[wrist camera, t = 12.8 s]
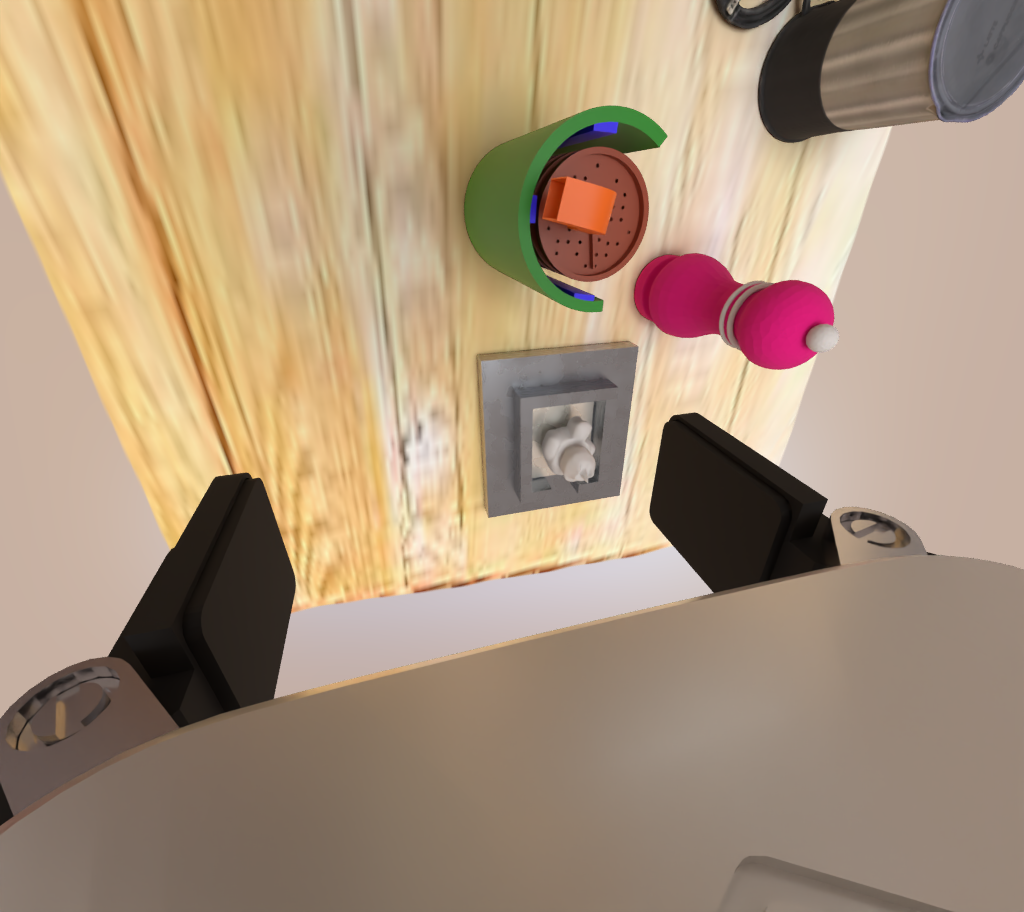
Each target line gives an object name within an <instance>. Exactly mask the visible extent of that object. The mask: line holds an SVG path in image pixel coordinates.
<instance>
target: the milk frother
mask: <svg viewBox="0 0 1024 912" xmlns="http://www.w3.org/2000/svg"><path fill="white" fill-rule="evenodd" d="M716 1H717V6H718V9H719V11H720V13H721V14H722V16H723V17H724V19H725V20H727V22H729V23H731V24H732V25H734V26H737V27H740V28H744V29H750V28H755V27H758V26H759V25H762V24H764V23H766V22H768V21H770V20H771V19H773V18H774V17H775V16H777V15H778V14H779V13H780V12H781V11H782V10H783V9H784V8H785V7H786V6H787V5H788V4H789V3H790V2H791V0H768V1H767V2H765V3H764V4H762V5H760V6H758V7H755V8H750V9H746V8H742V7H741V6H740V5H739V1H740V0H716ZM827 4H828V5H827ZM1023 80H1024V0H840V1H837V2H834V1H829V2H826V3H823V4H821V5H816V6H813V7H810V0H803V5H802V12H800V13H799V14H797V15H796V16H795V17H793V18H792V19H791V20H790V21H789V22H788V23H787V25H786V26H785V27H784V28H783V29H782V31H781V32H780V33H779V35H778V36H777V38H776V40H775V41H774V43H773V45H772V47H771V49H770V51H769V53H768V56H767V58H766V61H765V64H764V66H763V70H762V74H761V80H760V86H759V107H760V112H761V117H762V120H763V122H764V124H765V126H766V127H767V130H768V131H769V132H770V133H771V134H772V135H773V137H775V138H776V139H778V140H781V141H783V142H793V143H794V142H800V141H803V140H806V139H808V138H810V137H814V136H819V135H825V134H831V133H836V132H843V131H852V130H861V129H870V128H879V127H887V126H895V125H903V124H911V123H918V122H926V121H934V120H941V121H943V122H971V121H974V120H977V119H980V118H981V117H983V116H986V115H987V114H988V113H990V112H992V111H994V110H995V109H996V108H997V107H998V106H1000V105H1001V104H1002V103H1003V102H1004V101H1005V100H1006V99H1007V98H1008V97H1009V96H1011V95H1012V94H1013V93H1014V92H1015V91H1016V89H1017V88H1018V87H1019V85H1021V83H1022V82H1023Z"/></svg>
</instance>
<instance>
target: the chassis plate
mask: <svg viewBox="0 0 1024 912" xmlns="http://www.w3.org/2000/svg"><path fill="white" fill-rule="evenodd" d="M637 354H638V346H637V345H635V344H633V343H631V342H630V341H626V342H614V343H603V344H592V345H581V346H570V347H559V348H548V349H537V350H526V351H515V352H504V353H493V354H482V355H477V365H478V384H479V404H480V423H481V443H482V462H483V482H484V501H485V509H486V512H487V515H488V518H490V517H496V516H501V515H507V514H513V513H519V512H525V511H531V510H537V509H542V508H548V507H554V506H560V505H566V504H572V503H578V502H583V501H589V500H595V499H601V498H607V497H613V496H619V495H620V487H621V479H622V471H623V464H624V456H625V448H626V440H627V432H628V424H629V417H630V409H631V401H632V393H633V385H634V378H635V370H636V362H637ZM574 416H579V417H581V419H582V420H583V421H587V422H589V423H590V424H591V426H592V430H591V432H590V434H589V436H588V438H589V439H590V440H591V442H592V443H593V444H594V446H595V452H594V454H593V457H594V459H595V463H596V465H595V470H594V476H593V477H591V478H588V483H587V482H586V481H574V482H570V481H567V480H566V479H565V478H564V475H557V474H554V473H553V472H552V471H551V469H550V468H549V466H548V465H547V463H546V460H545V458H544V456H543V453H542V442H543V440H544V437H545V435H546V433H547V432H548V431H549V430H555V429H557V428H560V427H566V426H567V424H568V422H569V420H570V419H571V418H572V417H574Z"/></svg>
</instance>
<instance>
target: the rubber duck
mask: <svg viewBox="0 0 1024 912" xmlns="http://www.w3.org/2000/svg"><path fill="white" fill-rule="evenodd" d="M591 430H592V426H591V424H590V423H589V422H587V421H583V420H582V419H581V417H579V416H574V417H572V418H571V419H570V420H569V422H568V424H567V426H566V427H560V428H557V429H555V430H549V431H548V432H547V433H546V435H545V437H544V440H543V442H542V453H543V456H544V458H545V460H546V463H547V465H548V466H549V468H550V469H551V471H552V472H553V473H554V474H557V475H564V478H565V479H566V480H567V481H570V482H574V481H586V482H587V483H588V478H591V477H593V476H594V470H595V465H596V463H595V459H594V457H593V454H594V452H595V446H594V444H593V443H592V442H591V440H590V439H589V438H588V436H589V434H590V432H591Z"/></svg>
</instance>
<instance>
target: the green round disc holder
mask: <svg viewBox="0 0 1024 912" xmlns="http://www.w3.org/2000/svg"><path fill="white" fill-rule="evenodd" d="M666 138H667V135H666V133H665V132H664V131H663V130H662V129H661V127H660V126H659V125H658V124H656V123H655V122H654V121H653V120H652V119H650V118H649V117H647V116H646V115H644V114H642V113H640V112H638V111H636V110H634V109H630V108H627V107H622V106H601V107H596V108H592V109H589V110H586V111H583V112H581V113H578V114H576V115H573V116H571V117H568V118H566V119H563V120H561V121H558V122H556V123H553V124H551V125H548V126H546V127H543V128H541V129H538V130H536V131H533V132H531V133H528V134H526V135H523V136H521V137H518V138H516V139H513V140H511V141H508V142H506V143H503V144H501V145H499V146H497V147H496V148H494V149H493V150H491V151H490V152H489V153H488V154H487V155H486V156H484V158H483V159H482V160H481V161H480V162H479V164H478V165H477V167H476V168H475V170H474V172H473V173H472V176H471V178H470V180H469V183H468V186H467V190H466V194H465V202H464V216H465V223H466V228H467V232H468V235H469V238H470V240H471V242H472V244H473V246H474V248H475V249H476V251H477V252H478V254H479V255H480V256H481V257H482V259H483V260H484V261H485V262H486V263H488V264H489V265H490V266H491V267H493V268H494V269H496V270H498V271H500V272H502V273H504V274H505V275H507V276H509V277H511V278H513V279H515V280H517V281H519V282H520V283H522V284H524V285H526V286H528V287H530V288H532V289H533V290H535V291H537V292H539V293H541V294H543V295H545V296H547V297H548V298H550V299H552V300H554V301H556V302H558V303H560V304H562V305H564V306H566V307H568V308H571V309H574V310H578V311H583V312H601V311H602V309H603V300H602V299H599V298H597V297H594V295H592V294H589V293H587V292H585V291H582V290H580V289H578V288H575V287H573V286H570V285H568V284H566V283H563V282H561V281H558V280H556V279H554V278H551V277H549V276H547V275H545V273H544V272H543V270H542V268H541V267H543V268H545V269H548V270H551V271H553V272H556V273H558V274H561V275H564V276H566V277H569V278H571V279H574V280H578V281H584V282H591V281H598V280H602V279H605V278H607V277H609V276H611V275H613V274H615V273H616V272H618V271H619V270H620V269H621V268H623V267H624V266H625V265H626V264H627V263H628V262H629V260H630V259H631V258H632V257H633V255H634V254H635V252H636V251H637V249H638V247H639V245H640V243H641V241H642V239H643V236H644V233H645V230H646V226H647V221H648V213H649V201H648V193H647V188H646V185H645V182H644V179H643V177H642V175H641V173H640V171H639V169H638V168H637V166H636V165H635V164H634V163H633V161H632V160H631V159H630V158H628V157H627V156H626V155H624V153H630V152H635V151H641V150H647V149H652V148H658V147H660V145H661V144H662V143H663V142H664V140H665V139H666Z"/></svg>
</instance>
